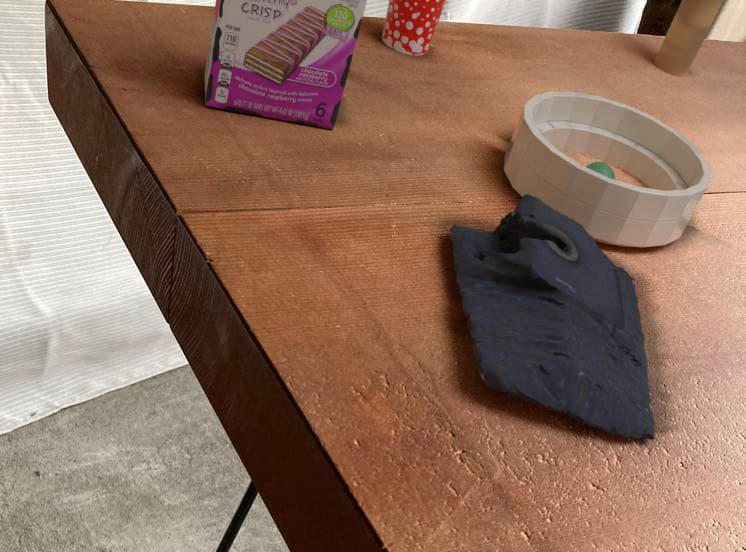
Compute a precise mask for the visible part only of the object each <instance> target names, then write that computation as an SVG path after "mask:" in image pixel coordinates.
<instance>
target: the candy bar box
mask: <svg viewBox="0 0 746 552" xmlns="http://www.w3.org/2000/svg"><path fill="white" fill-rule="evenodd" d="M367 2H368V0H215V3H214V10H213V18H212V24H211V30H210V37H209V45H208V51H207V57H206V64H205V65H206V66H205V72H204V95H205V106H206V107H211V108H217V109H221V110H228V111H232V112H238V113H243V114H247V115H252V116H259V117H264V118H270V119H275V120H280V121H287V122H290V123H296V124H302V125H307V126H313V127H318V128H323V129H329V130H334V129H335V126H336V123H337V120H338V119H337V118H338V116H339V115H338V114H339V111H340V106H341V103H342V100H343V96H344V92H345V87H346V84H347V81H348V77H349V72H350V70H351V64H352V60H353V56H354V53H355V49H356V47H357V46H356V45H357V41H358V38H359V34H360V31H361V26H362V21H363V17H364V14H365V11H366V10H365V9H366V6H367Z"/></svg>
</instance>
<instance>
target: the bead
mask: <svg viewBox="0 0 746 552" xmlns="http://www.w3.org/2000/svg"><path fill="white" fill-rule="evenodd" d="M585 167H587V168H589V169H591V170H593V171H596V172H598V173H600V174H602V175H604V176H607V177H609V178H611V179H615V180H616V174H615V171H614V170H613V168H612V166H610V165H609V163H607V162H605V161H604V162H603V161H593V162H590V163H589V164H587V165H586V166H585Z"/></svg>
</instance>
